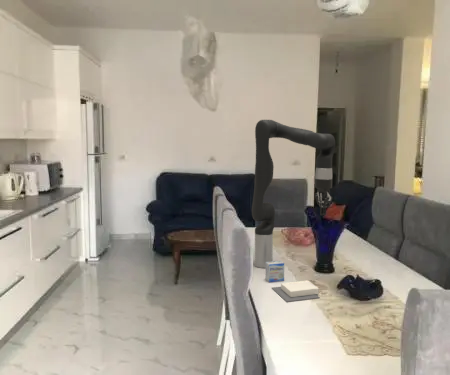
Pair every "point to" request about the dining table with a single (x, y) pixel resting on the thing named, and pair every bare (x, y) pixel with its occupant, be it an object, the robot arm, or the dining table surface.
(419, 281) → the dining table surface
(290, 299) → the mat
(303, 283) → the white and teal block
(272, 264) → the medicine box
